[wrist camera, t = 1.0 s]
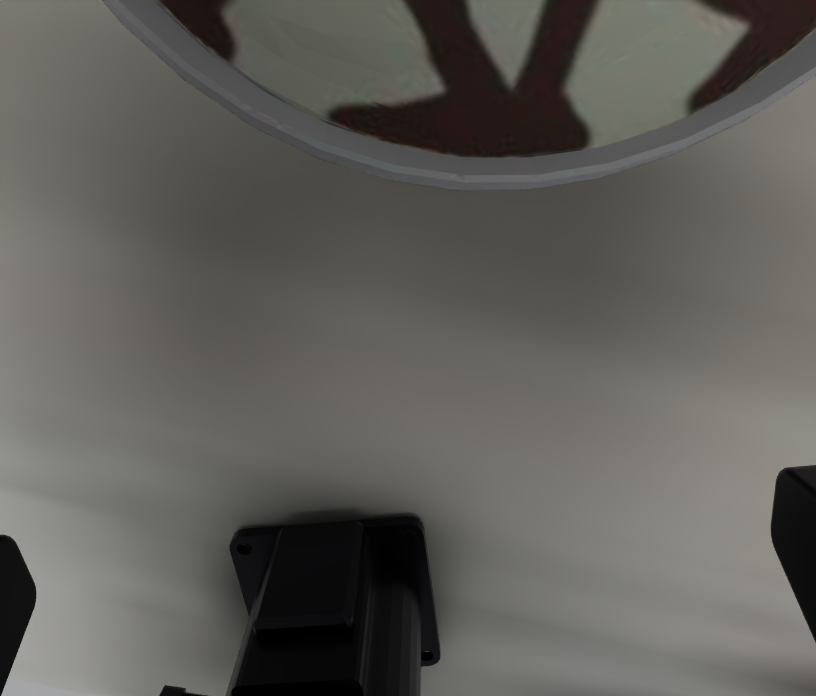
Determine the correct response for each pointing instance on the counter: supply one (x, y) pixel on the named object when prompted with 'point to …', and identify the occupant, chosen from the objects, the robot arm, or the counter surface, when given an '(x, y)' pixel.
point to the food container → (485, 78)
